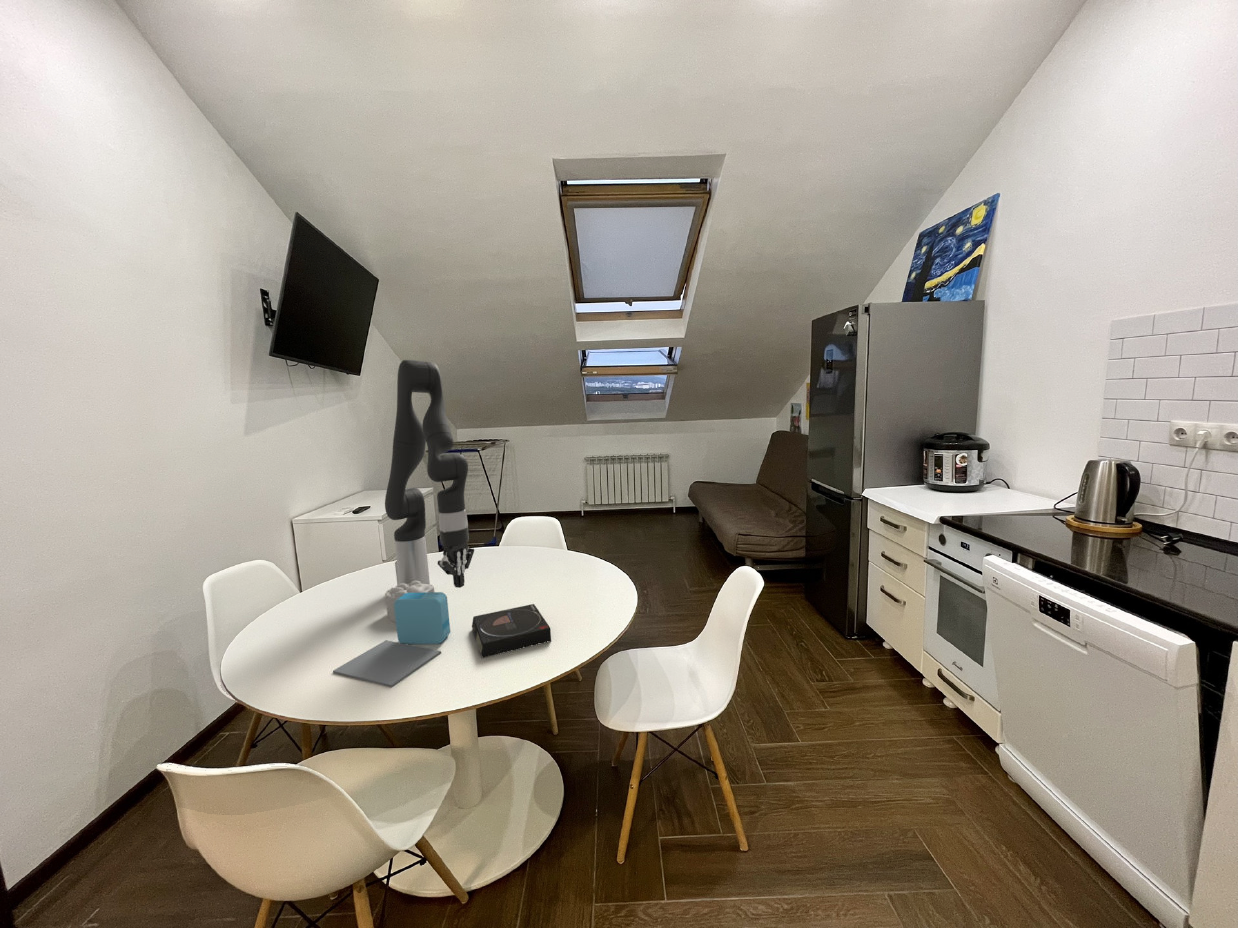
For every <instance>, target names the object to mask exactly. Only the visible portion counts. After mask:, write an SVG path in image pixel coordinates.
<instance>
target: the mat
mask: <svg viewBox="0 0 1238 928" xmlns="http://www.w3.org/2000/svg"><path fill="white" fill-rule="evenodd" d="M441 654H442V651H441V650H437V649H432V648H427V647H423V646H417V645H414V644H403V643H400V642H399V641H398V642H397V641H392V640H386V639H385V640H384V641H382V642H380V643H379V644H377V645H375V646H373V647H371V648H369V649H368V650H366V651H365V652H362V653H361V654H360V655H358V656H356V657H354V658H352V659H351V660H349V661H348V662H346V663H343V664H342V665H340V666H339V667H337V668H335V669H334V670H333V671H332V673H333V674H337V675H340V676H344V677H345V676H346V677H349V678H353V679H355V680H361V681H365V682H369V683H373V684H377V685H381V686H385V687H389V688H393V687H395V686H396V685H397V684H399V683H400V682H401V681H403V680H405V679H406V678H407V677H409V676H410V675H412V674H413V673H415V672H416V671H417V670H420V668H422V667H423V666H425V665H427V664H428V663H429V662H430V661H432V660H434V658H436V657H438V656H439V655H441Z"/></svg>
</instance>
